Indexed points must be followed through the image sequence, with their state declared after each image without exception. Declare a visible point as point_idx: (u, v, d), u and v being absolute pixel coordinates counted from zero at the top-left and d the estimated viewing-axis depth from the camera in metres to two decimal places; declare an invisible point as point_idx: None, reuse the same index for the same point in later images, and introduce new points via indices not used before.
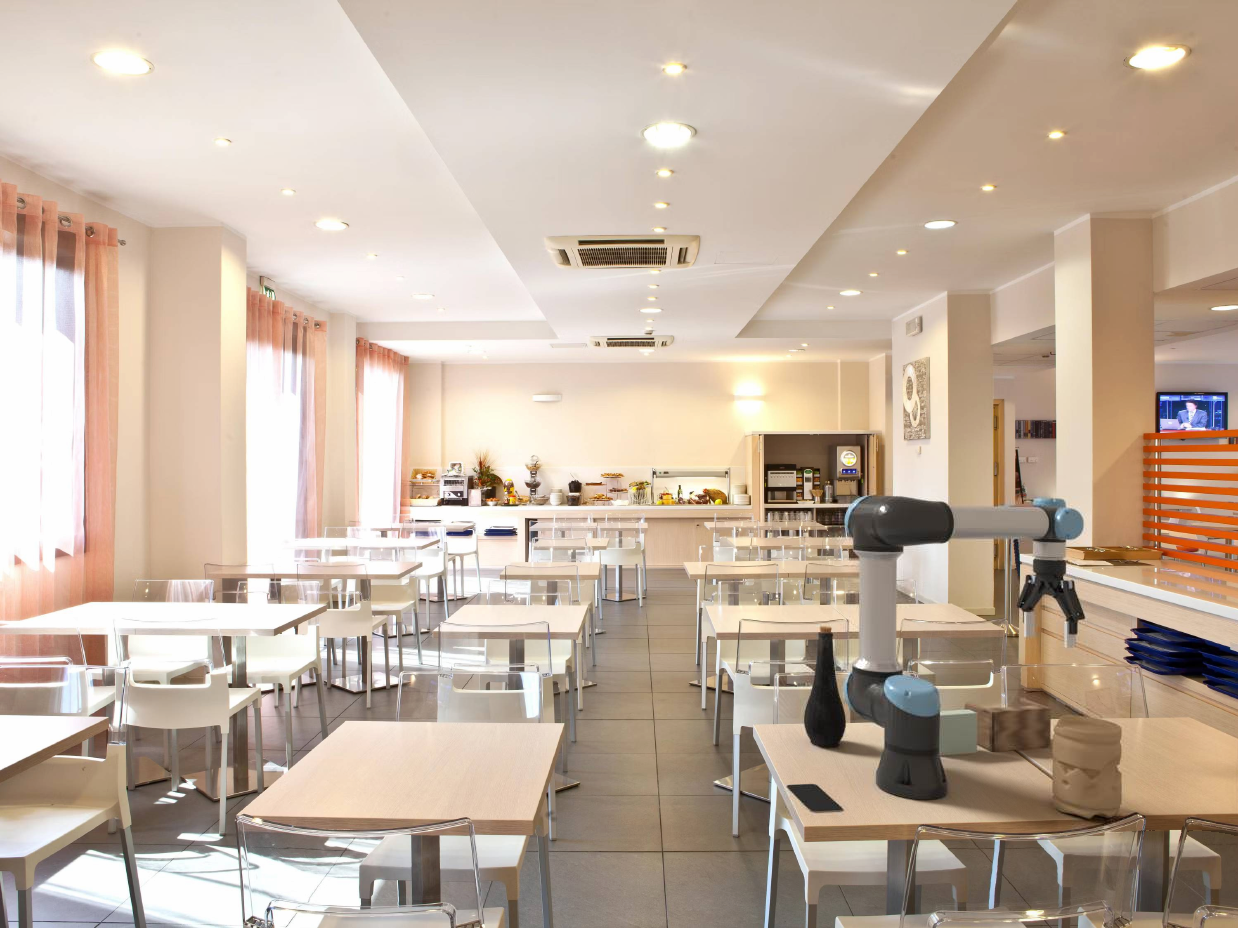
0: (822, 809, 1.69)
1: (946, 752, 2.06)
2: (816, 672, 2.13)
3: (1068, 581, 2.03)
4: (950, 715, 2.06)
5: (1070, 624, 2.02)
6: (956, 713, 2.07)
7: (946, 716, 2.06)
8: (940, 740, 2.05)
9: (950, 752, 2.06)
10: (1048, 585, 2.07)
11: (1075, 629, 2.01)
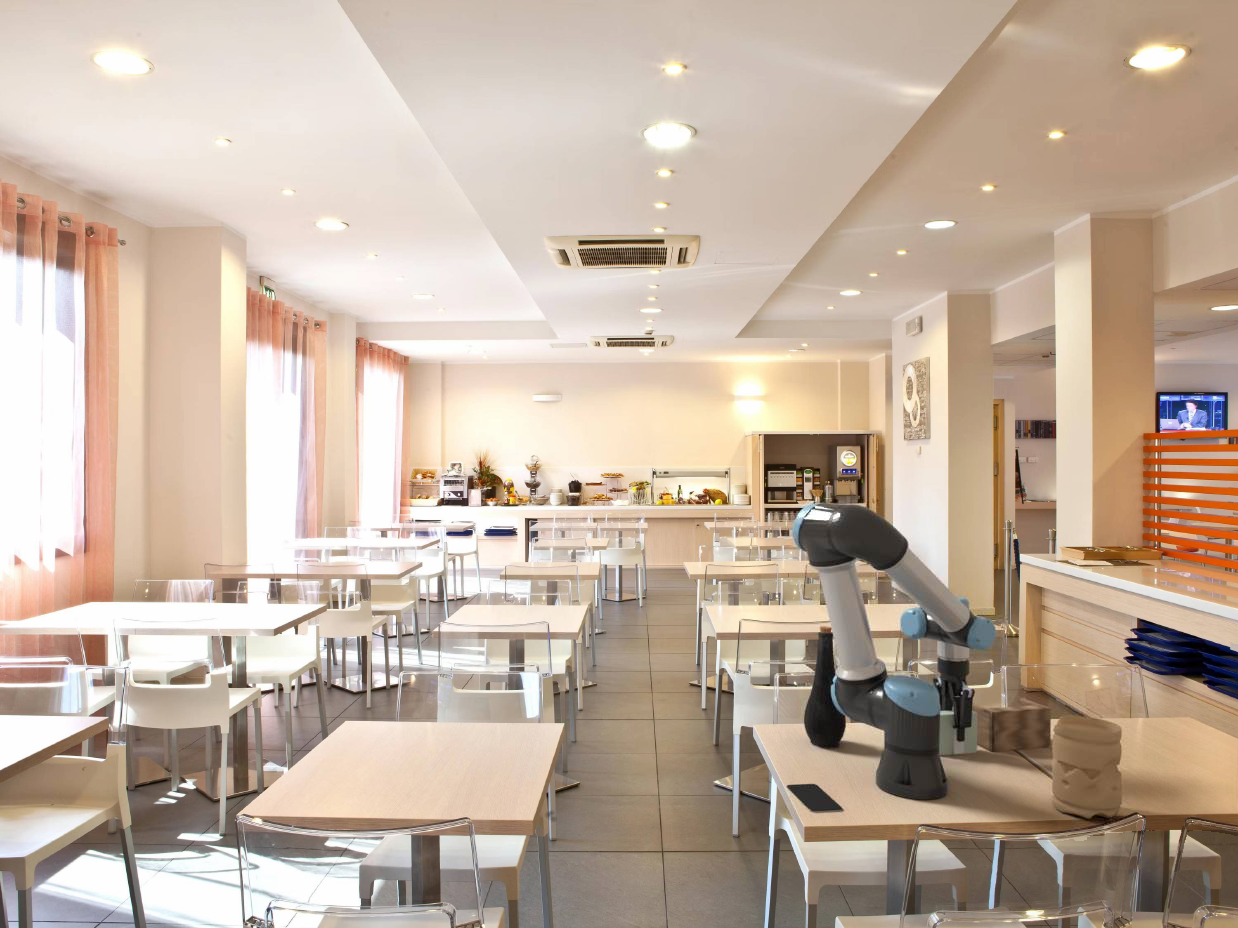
0: (822, 809, 1.69)
1: (946, 752, 2.06)
2: (816, 672, 2.13)
3: (969, 692, 2.02)
4: (950, 715, 2.06)
5: (958, 731, 2.05)
6: None
7: (946, 716, 2.06)
8: (940, 740, 2.05)
9: (950, 752, 2.06)
10: (950, 686, 2.06)
11: (962, 736, 2.05)
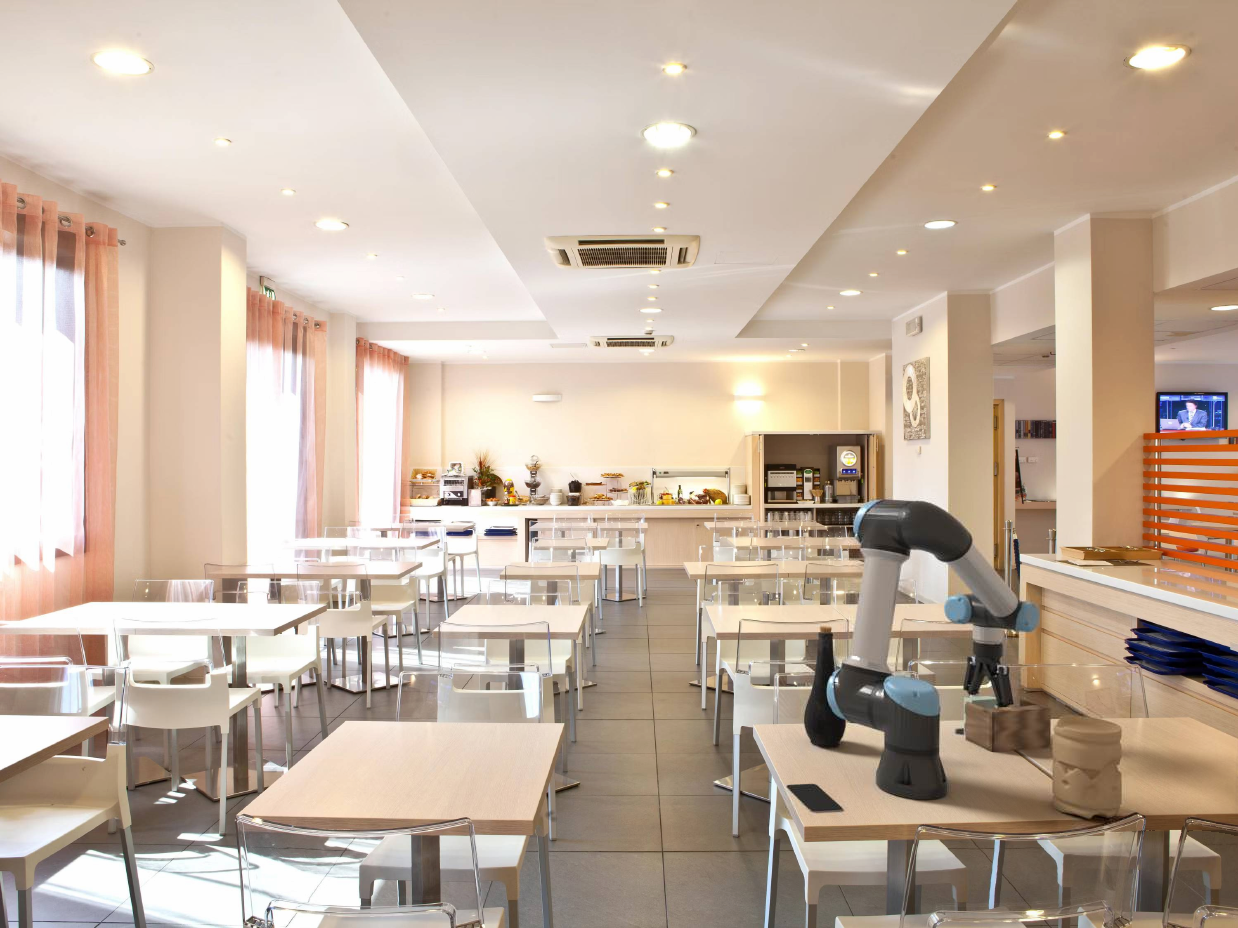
0: (822, 809, 1.69)
1: None
2: (816, 672, 2.13)
3: (1003, 668, 2.17)
4: (985, 700, 2.21)
5: None
6: (990, 698, 2.22)
7: (981, 701, 2.21)
8: None
9: None
10: (986, 667, 2.21)
11: None
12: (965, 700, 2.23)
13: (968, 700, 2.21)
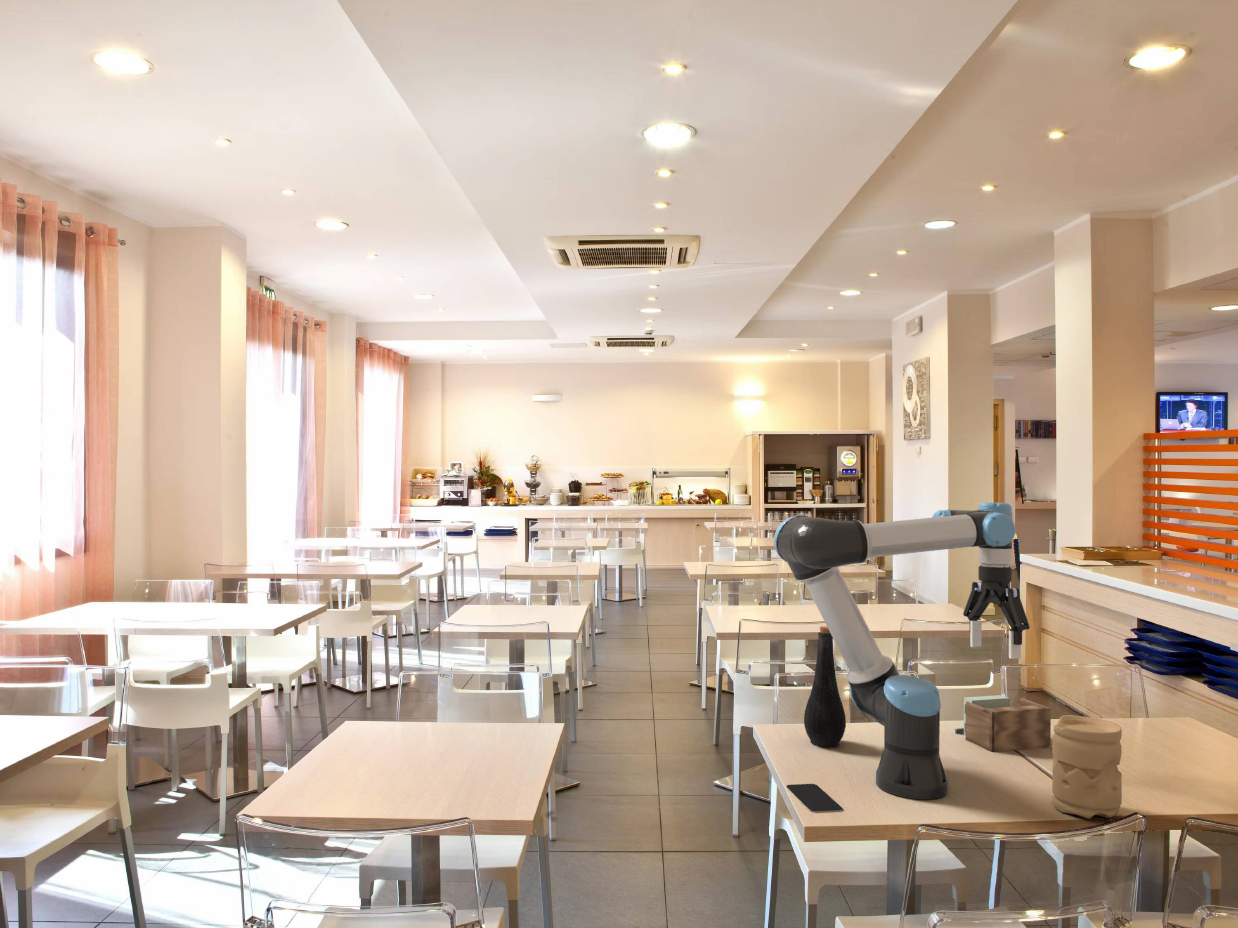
0: (822, 809, 1.69)
1: None
2: (816, 672, 2.13)
3: (1013, 589, 1.95)
4: (984, 700, 2.21)
5: (1015, 633, 1.94)
6: (990, 698, 2.22)
7: (981, 701, 2.21)
8: None
9: None
10: (993, 593, 1.99)
11: (1019, 639, 1.93)
12: (965, 700, 2.23)
13: (968, 700, 2.21)
